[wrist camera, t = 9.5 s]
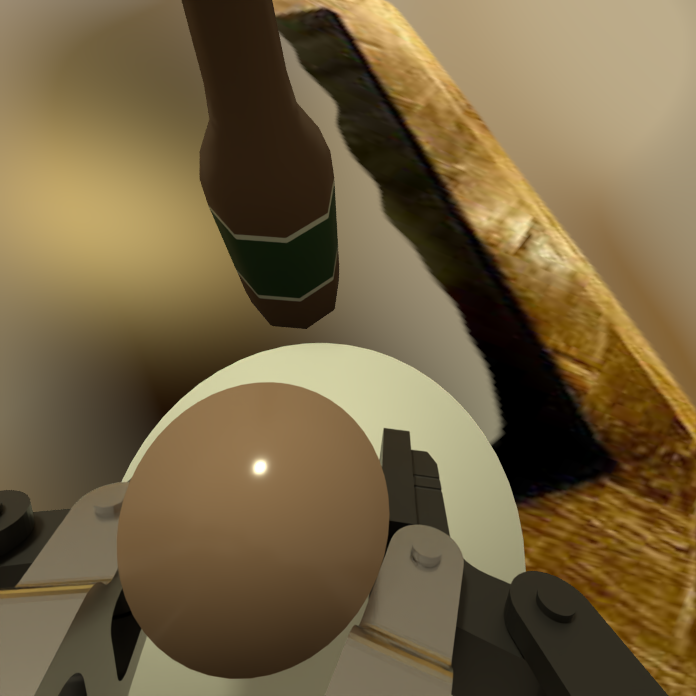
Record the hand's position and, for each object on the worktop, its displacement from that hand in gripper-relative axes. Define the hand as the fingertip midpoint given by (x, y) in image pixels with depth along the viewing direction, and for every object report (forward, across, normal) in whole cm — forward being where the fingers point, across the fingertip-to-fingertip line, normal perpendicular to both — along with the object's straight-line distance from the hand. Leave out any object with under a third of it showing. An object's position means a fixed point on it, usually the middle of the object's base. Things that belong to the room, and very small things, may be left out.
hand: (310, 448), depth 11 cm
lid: (+1, 0, +4) cm, 5 cm away
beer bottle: (+23, +6, 0) cm, 24 cm away
